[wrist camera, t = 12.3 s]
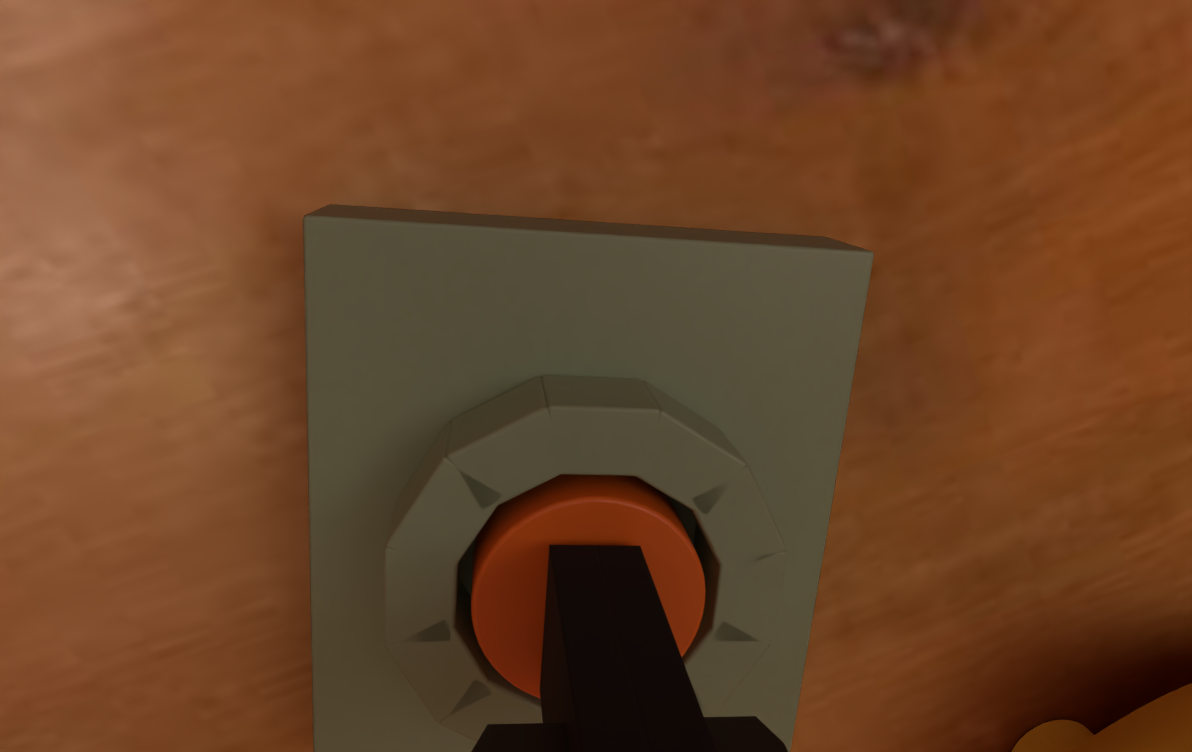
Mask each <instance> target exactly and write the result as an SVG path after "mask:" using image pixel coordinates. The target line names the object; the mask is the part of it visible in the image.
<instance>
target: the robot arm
mask: <svg viewBox="0 0 1192 752" xmlns="http://www.w3.org/2000/svg"><path fill="white" fill-rule="evenodd" d="M540 698H541V709H542V720H543V723H522V724H487V726H486V728H485V729H484V731H483V733H482V734H481V736H480V738H479V740H478V741H477V743H476V745H475V746H474V748H473V750H472V752H788V750H787V748H786V746H785V744H784V743H783V742H782V741H781V740H780V739H779V738H778V737H777V736H776V735H775V734H774V733H773V732H772V731H771V730H770V729H769V728H768V727H767V726H766V725H765V724H763V723H762V722H761V721H760V720H759V719H758V718H757V717H756V716H737V717H704V716H703V713H702V711H701V708H700V705H699V703H698V700H697V697H696V695H695V692H694V689H693V687H692V684H691V681H690V678H689V676H688V673H687V670H686V668H685V665H684V662H683V660H682V657H681V654H680V651H679V649H678V646H677V643H676V641H675V638H674V635H673V633H672V630H671V627H670V625H669V622H668V619H667V616H666V614H665V611H664V608H663V606H662V603H661V600H660V598H659V595H658V592H657V590H656V587H655V584H654V581H653V579H652V576H651V573H650V571H649V568H648V565H647V563H646V560H645V557H644V555H643V552H642V549H641V546H626V545H549V558H548V573H547V588H546V602H545V617H544V632H543V647H542V662H541V676H540Z"/></svg>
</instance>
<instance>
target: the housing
mask: <svg viewBox="0 0 1192 752" xmlns="http://www.w3.org/2000/svg"><path fill="white" fill-rule="evenodd" d="M303 245H304V296H305V347H306V398H307V448H308V499H309V550H310V601H311V652H312V702H313V752H472V750H473V748H474V746H475V745H476V743H477V741H478V740H479V738H480V736H481V734H482V733H483V731H484V729H485V728H486V726H487V724H522V723H543V720H542V709H541V699H540V698H537V697H535V696H533V695H530V694H528V693H526V692H524V691H522V690H521V689H519V688H517V687H515V686H514V685H513V684H511V683H510V682H509V681H507V680H506V679H505V678H504V677H503V676H502V675H501V674H500V673H499V672H498V671H497V670H496V669H495V668H494V667H493V666H492V664H491V663H490V662H489V660H488V659H487V658H486V656H485V655H484V653H483V651H482V649H481V647H480V645H479V643H478V640H477V637H476V635H475V632H474V627H473V622H472V614H471V594H472V568H473V552H474V544H475V541H476V537H477V535H478V533H479V532H480V530H481V529H482V527H483V526H484V525H485V523H486V522H487V520H488V519H489V517H490V516H491V514H492V513H493V511H494V510H495V509H496V507H497V506H498V505H500V504H502V503H504V502H506V501H508V500H510V499H512V498H514V497H516V496H518V495H520V494H522V493H524V492H526V491H528V490H530V489H532V488H534V487H536V486H538V485H540V484H542V483H544V482H546V481H548V480H550V479H552V478H554V477H556V476H558V475H560V474H579V475H623V476H636V477H638V478H639V479H641V480H643V481H644V482H646V483H648V484H649V485H651V486H653V487H654V488H656V489H658V490H659V491H661V492H663V493H664V494H665V495H666V496H667V498H668V499H669V500H670V502H671V503H672V505H673V507H674V508H675V510H676V512H677V514H678V516H679V518H680V520H681V522H682V524H683V526H684V528H685V530H686V532H687V534H688V536H689V538H690V540H691V542H692V544H693V546H694V548H695V550H696V552H697V555H698V557H699V560H700V562H701V565H702V569H703V573H704V578H705V589H706V592H705V606H704V611H703V616H702V619H701V622H700V625H699V628H698V631H697V633H696V635H695V637H694V639H693V641H692V643H691V645H690V646H689V648H688V649H687V651H686V652H685V654H684V655H683V657H682V660H683V662H684V665H685V668H686V670H687V673H688V676H689V678H690V681H691V684H692V687H693V689H694V692H695V695H696V697H697V700H698V703H699V705H700V708H701V711H702V713H703V716H704V717H737V716H756V717H757V718H758V719H759V720H760V721H761V722H762V723H763V724H765V725H766V726H767V727H768V728H769V729H770V730H771V731H772V732H773V733H774V734H775V735H776V736H777V737H778V738H779V739H780V740H781V741H782V742H783V743H784V744H785V746H786V748H787V750H788V752H790V749H791V743H792V738H793V732H794V726H795V720H796V714H797V708H798V702H799V696H800V690H801V684H802V678H803V672H804V666H805V660H806V654H807V648H808V643H809V637H810V631H811V625H812V619H813V613H814V607H815V601H816V595H817V589H818V583H819V577H820V571H821V565H822V559H823V554H824V548H825V542H826V536H827V530H828V524H829V518H830V512H831V506H832V500H833V494H834V488H835V482H836V476H837V470H838V464H839V459H840V453H841V447H842V441H843V435H844V429H845V423H846V417H847V411H848V405H849V399H850V393H851V387H852V381H853V375H854V369H855V364H856V358H857V352H858V346H859V340H860V334H861V328H862V322H863V316H864V310H865V304H866V298H867V292H868V286H869V280H870V275H871V269H872V263H873V257H874V254H873V252H872V251H869V250H866V249H863V248H860V247H857V246H853V245H850V244H847V243H844V242H841V241H837V240H834V239H831V238H828V237H817V236H802V235H786V234H771V233H756V232H741V231H726V230H711V229H696V228H681V227H665V226H650V225H635V224H620V223H605V222H590V221H575V220H560V219H544V218H529V217H514V216H499V215H484V214H469V213H454V212H439V211H423V210H408V209H393V208H378V207H363V206H348V205H333V204H330V205H327V206H325V207H323V208H320V209H318V210H316V211H314V212H312V213H309V214H307V215H305V216H304V218H303Z"/></svg>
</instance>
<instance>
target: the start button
mask: <svg viewBox="0 0 1192 752" xmlns="http://www.w3.org/2000/svg"><path fill="white" fill-rule="evenodd" d="M549 545H626V546H641V549H642V552H643V555H644V557H645V560H646V563H647V565H648V568H649V571H650V573H651V576H652V579H653V581H654V584H655V587H656V590H657V592H658V595H659V598H660V600H661V603H662V606H663V608H664V611H665V614H666V616H667V619H668V622H669V625H670V627H671V630H672V633H673V635H674V638H675V641H676V643H677V646H678V649H679V651H680V654H681V657H683V655H684V654H685V652H686V651H687V649H688V648H689V646H690V645H691V643H692V641H693V639H694V637H695V635H696V633H697V631H698V628H699V625H700V622H701V619H702V616H703V611H704V606H705V592H706V589H705V578H704V573H703V569H702V565H701V562H700V560H699V557H698V555H697V552H696V550H695V548H694V546H693V544H692V542H691V540H690V538H689V536H688V534H687V532H686V530H685V528H684V526H683V524H682V522H681V520H680V518H679V516H678V514H677V512H676V510H675V508H674V507H673V505H672V503H671V502H670V500H669V499H668V498H667V496H666V495H665V494H664V493H663V492H661V491H659V490H658V489H656V488H654V487H653V486H651V485H649V484H648V483H646V482H644V481H643V480H641V479H639V478H638V477H636V476H623V475H579V474H560V475H558V476H556V477H554V478H552V479H550V480H548V481H546V482H544V483H542V484H540V485H538V486H536V487H534V488H532V489H530V490H528V491H526V492H524V493H522V494H520V495H518V496H516V497H514V498H512V499H510V500H508V501H506V502H504V503H502V504H500V505H498V506H497V507H496V509H495V510H494V511H493V513H492V514H491V516H490V517H489V519H488V520H487V522H486V523H485V525H484V526H483V527H482V529H481V530H480V532H479V533H478V535H477V537H476V541H475V544H474V552H473V568H472V594H471V614H472V622H473V627H474V632H475V635H476V637H477V640H478V643H479V645H480V647H481V649H482V651H483V653H484V655H485V656H486V658H487V659H488V660H489V662H490V663H491V664H492V666H493V667H494V668H495V669H496V670H497V671H498V672H499V673H500V674H501V675H502V676H503V677H504V678H505V679H506V680H507V681H509V682H510V683H511V684H513V685H514V686H515V687H517V688H519V689H521V690H522V691H524V692H526V693H528V694H530V695H533V696H535V697H537V698H540V676H541V662H542V647H543V632H544V617H545V602H546V588H547V573H548V558H549ZM540 699H541V698H540Z"/></svg>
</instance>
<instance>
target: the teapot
mask: <svg viewBox="0 0 1192 752" xmlns="http://www.w3.org/2000/svg"><path fill="white" fill-rule="evenodd" d="M1011 752H1192V683H1190V684H1188V685H1186V686H1183V687H1181V688H1179V689H1177V690H1174V691H1172V692H1170V693H1168V694H1165V695H1163V696H1161V697H1159V698H1157V699H1156V700H1154V701H1152V702H1150V703H1148V704H1146V705H1144V706H1142V707H1140V708H1138V709H1137V710H1135V711H1133V712H1131V713H1130V714H1128V715H1126V716H1125V717H1123V718H1121V719H1120V720H1118V721H1116V722H1115V723H1113V724H1111V725H1110V726H1108V727H1106V728H1105V729H1103V730H1102V731H1100V732H1099V733H1097V734H1095V735H1094V734H1093V733H1091V732H1090V731H1089V730H1088V729H1087V728H1086V727H1085V726H1084V725H1082V724H1080V723H1078V722H1075V721H1071V720H1054V721H1050V722H1046V723H1043V724H1041V725H1039V726H1037V727H1035V728H1033V729H1032V730H1030V731H1029V732H1027V733H1026V734H1025V735H1024V736H1023V737H1022V738H1021V739H1020V740H1019V741H1018V742H1017V744H1016V745H1015V746H1014V748H1013V750H1012V751H1011Z"/></svg>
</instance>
